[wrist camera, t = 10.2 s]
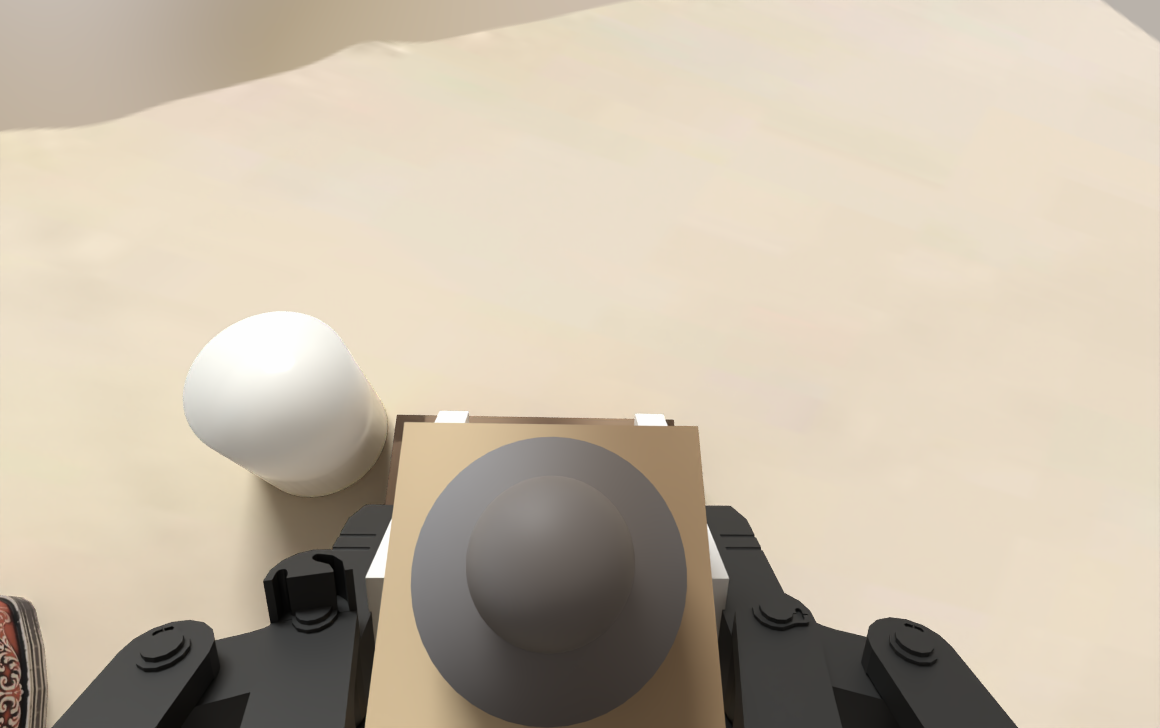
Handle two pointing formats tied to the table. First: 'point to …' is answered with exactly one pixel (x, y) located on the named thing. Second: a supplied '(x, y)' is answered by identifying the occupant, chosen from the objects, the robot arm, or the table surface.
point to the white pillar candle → (286, 404)
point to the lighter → (21, 666)
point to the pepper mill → (547, 581)
